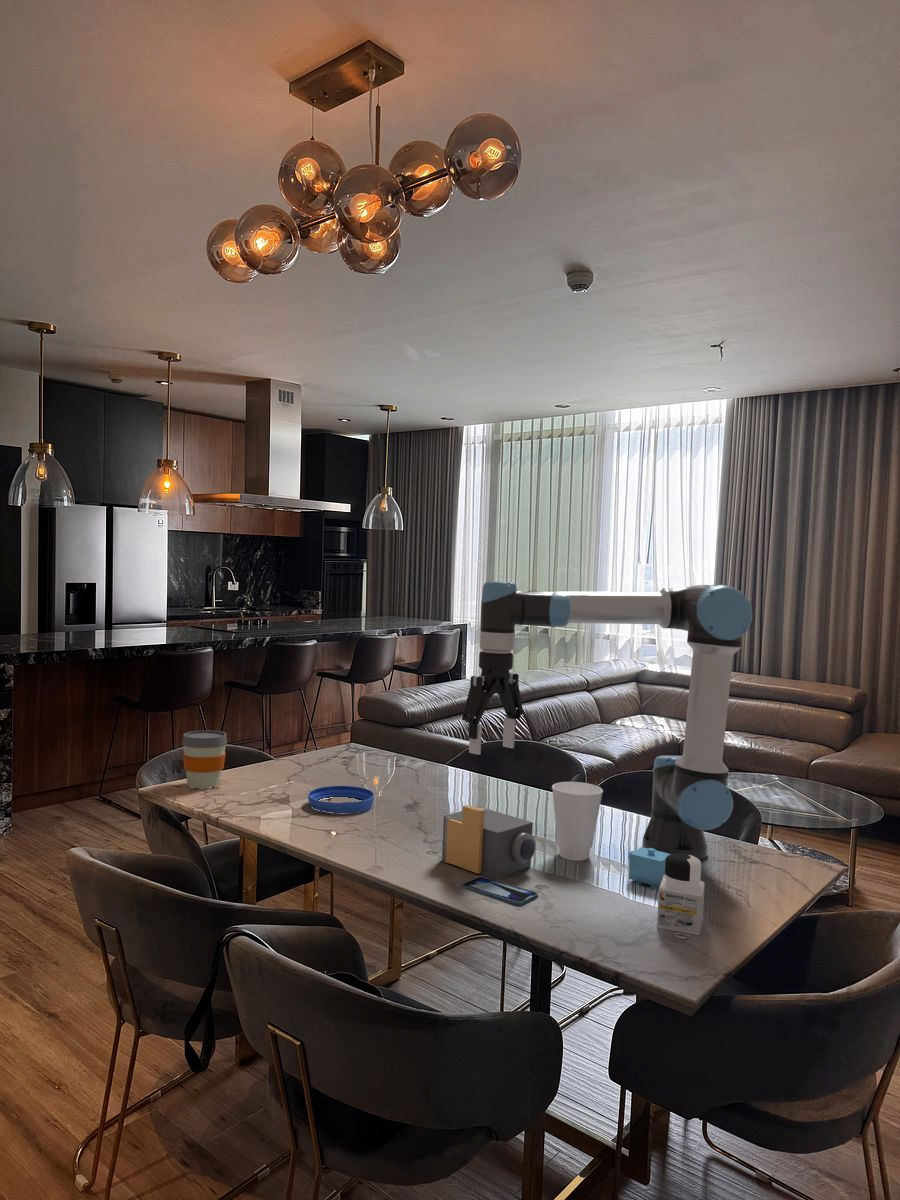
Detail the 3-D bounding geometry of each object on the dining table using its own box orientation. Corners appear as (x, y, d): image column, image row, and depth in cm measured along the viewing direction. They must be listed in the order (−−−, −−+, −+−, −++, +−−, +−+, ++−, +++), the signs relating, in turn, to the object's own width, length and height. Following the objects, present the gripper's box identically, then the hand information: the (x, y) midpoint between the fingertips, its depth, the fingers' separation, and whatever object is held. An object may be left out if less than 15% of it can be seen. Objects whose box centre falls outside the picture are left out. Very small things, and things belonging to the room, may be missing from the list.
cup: (571, 867, 187) (574, 796, 187) (538, 851, 197) (541, 784, 197) (610, 859, 193) (613, 791, 193) (576, 844, 203) (579, 779, 203)
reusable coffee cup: (171, 785, 242) (173, 733, 241) (206, 777, 252) (208, 728, 252) (199, 793, 235) (201, 740, 234) (234, 785, 245) (236, 734, 245)
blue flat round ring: (365, 796, 240) (366, 784, 240) (380, 814, 223) (381, 801, 223) (303, 799, 234) (303, 786, 234) (313, 817, 217) (313, 804, 217)
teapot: (686, 887, 178) (687, 852, 177) (675, 896, 173) (677, 860, 172) (633, 874, 185) (634, 840, 184) (621, 881, 180) (623, 847, 179)
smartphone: (480, 875, 178) (539, 893, 169) (480, 880, 178) (539, 897, 169) (459, 884, 173) (519, 903, 163) (459, 889, 173) (519, 908, 163)
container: (656, 928, 156) (660, 859, 156) (661, 913, 163) (664, 847, 163) (699, 936, 153) (703, 866, 153) (702, 920, 160) (706, 853, 160)
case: (539, 869, 185) (541, 822, 184) (505, 882, 176) (507, 832, 176) (477, 848, 197) (478, 804, 197) (442, 859, 188) (444, 813, 188)
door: (482, 873, 180) (484, 810, 180) (477, 874, 179) (480, 811, 179) (446, 860, 188) (449, 799, 187) (441, 861, 186) (444, 800, 186)
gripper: (516, 647, 195) (511, 741, 196) (447, 651, 178) (443, 753, 179) (541, 650, 190) (537, 746, 191) (474, 654, 173) (469, 760, 174)
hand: (491, 750), depth 185 cm, fingers open, 11 cm apart
